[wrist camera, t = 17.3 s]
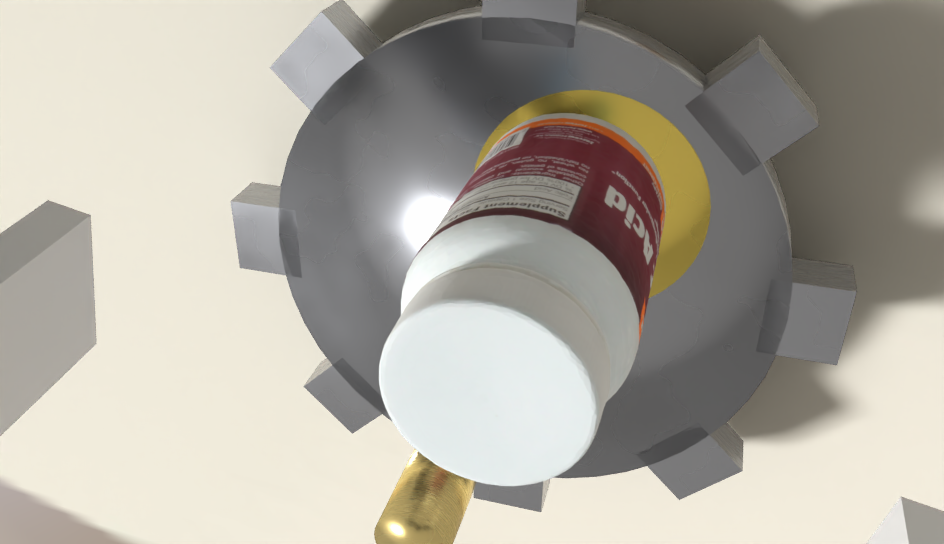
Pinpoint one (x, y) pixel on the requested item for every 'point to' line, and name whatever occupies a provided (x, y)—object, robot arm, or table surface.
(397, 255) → the disc
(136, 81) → the table surface
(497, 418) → the pill bottle
